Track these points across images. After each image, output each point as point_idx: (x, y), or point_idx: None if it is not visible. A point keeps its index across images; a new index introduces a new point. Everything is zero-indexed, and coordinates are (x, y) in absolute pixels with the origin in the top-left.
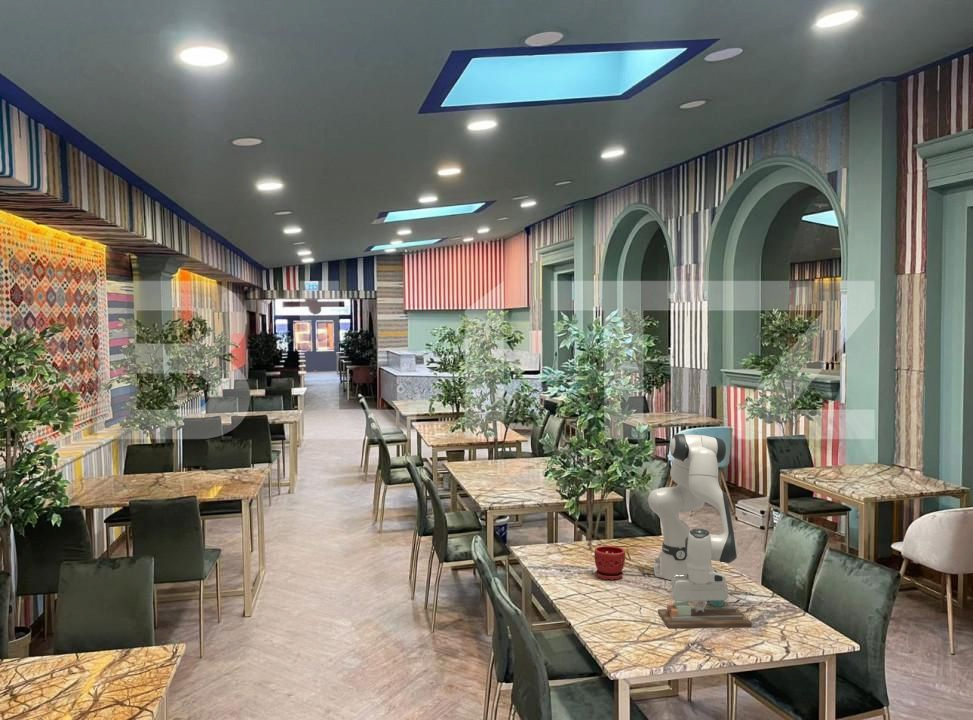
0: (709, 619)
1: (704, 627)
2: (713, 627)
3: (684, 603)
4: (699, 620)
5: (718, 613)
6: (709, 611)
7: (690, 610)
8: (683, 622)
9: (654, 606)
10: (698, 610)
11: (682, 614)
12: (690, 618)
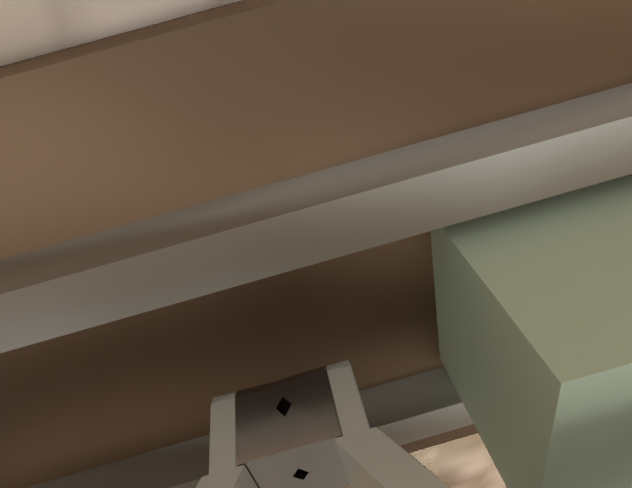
0: (103, 238)
1: (196, 13)
2: (18, 62)
3: (617, 470)
4: (293, 176)
5: (22, 468)
6: (145, 469)
7: (515, 307)
8: (622, 3)
9: None
10: (315, 394)
11: (625, 211)
12: (479, 145)
